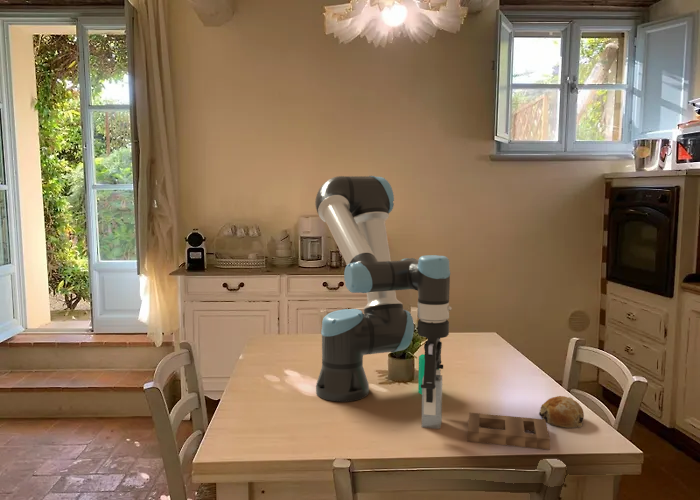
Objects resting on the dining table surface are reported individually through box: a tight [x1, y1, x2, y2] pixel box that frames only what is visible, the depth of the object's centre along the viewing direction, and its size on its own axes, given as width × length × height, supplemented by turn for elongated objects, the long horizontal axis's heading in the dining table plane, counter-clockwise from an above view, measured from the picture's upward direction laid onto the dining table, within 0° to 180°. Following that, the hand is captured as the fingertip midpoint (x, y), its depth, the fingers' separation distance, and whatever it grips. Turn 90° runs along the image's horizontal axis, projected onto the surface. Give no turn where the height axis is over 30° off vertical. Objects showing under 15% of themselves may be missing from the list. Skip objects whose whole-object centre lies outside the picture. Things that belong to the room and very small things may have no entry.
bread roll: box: [538, 395, 585, 429], centre depth 142 cm, size 10×10×8 cm
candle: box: [417, 353, 425, 396], centre depth 161 cm, size 6×6×12 cm
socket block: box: [467, 412, 551, 451], centre depth 134 cm, size 18×11×2 cm, turn 76°
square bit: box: [421, 374, 443, 430], centre depth 139 cm, size 4×4×12 cm
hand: (432, 403), depth 139 cm, fingers open, 13 cm apart
